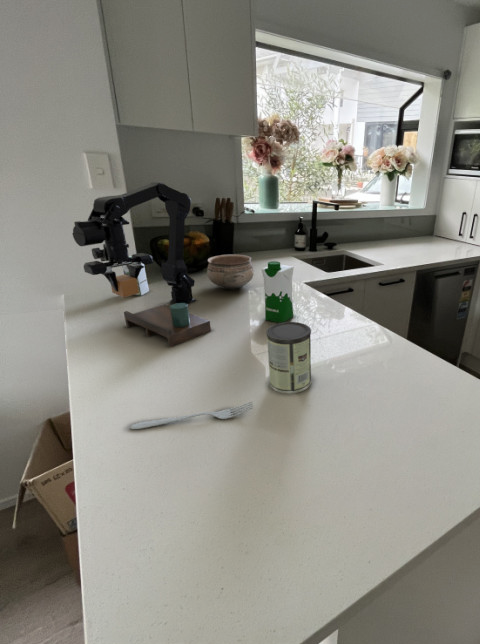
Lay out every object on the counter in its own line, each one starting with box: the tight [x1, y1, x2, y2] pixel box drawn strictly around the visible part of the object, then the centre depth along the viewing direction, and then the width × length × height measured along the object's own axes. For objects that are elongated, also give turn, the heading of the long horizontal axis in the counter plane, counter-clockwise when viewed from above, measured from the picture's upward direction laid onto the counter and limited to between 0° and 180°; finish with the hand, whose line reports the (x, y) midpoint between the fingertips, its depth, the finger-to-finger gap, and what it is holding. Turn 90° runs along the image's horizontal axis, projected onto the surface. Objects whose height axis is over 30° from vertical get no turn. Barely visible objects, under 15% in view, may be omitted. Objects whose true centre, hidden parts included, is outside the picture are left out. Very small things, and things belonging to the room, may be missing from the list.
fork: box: [129, 401, 253, 430], centre depth 78 cm, size 3×24×2 cm, turn 105°
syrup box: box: [121, 255, 150, 296], centre depth 148 cm, size 6×6×14 cm
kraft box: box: [110, 274, 139, 298], centre depth 121 cm, size 5×7×5 cm
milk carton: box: [261, 260, 294, 324], centre depth 126 cm, size 9×9×20 cm
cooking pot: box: [206, 253, 255, 291], centre depth 158 cm, size 25×19×12 cm
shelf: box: [123, 303, 212, 347], centre depth 119 cm, size 14×24×5 cm, turn 56°
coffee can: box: [265, 321, 312, 395], centre depth 90 cm, size 10×10×14 cm
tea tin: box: [169, 303, 190, 327], centre depth 114 cm, size 5×5×6 cm
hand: (125, 289), depth 121 cm, fingers closed on kraft box, 5 cm apart
